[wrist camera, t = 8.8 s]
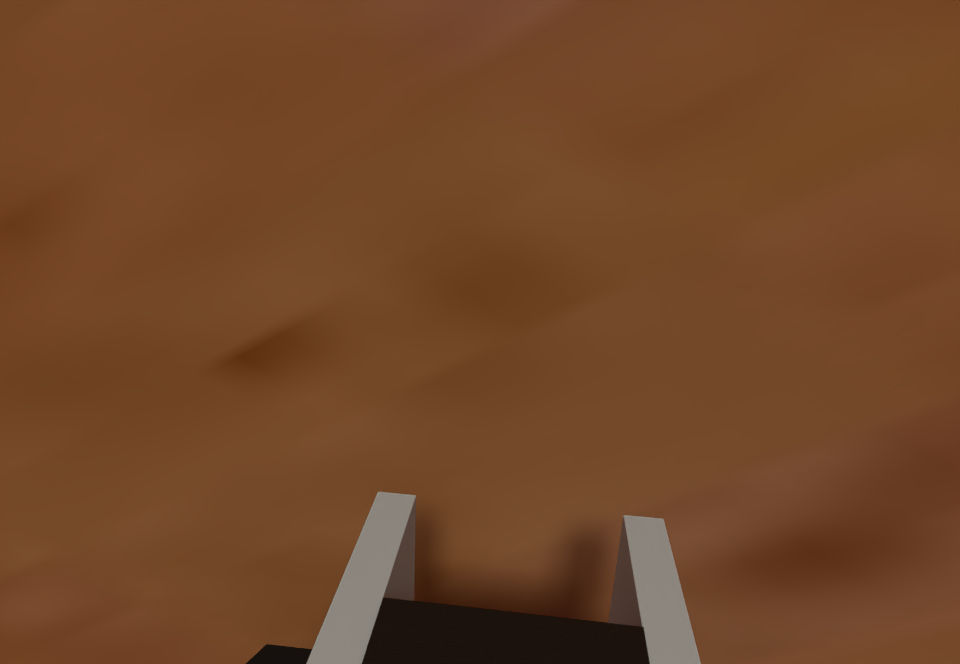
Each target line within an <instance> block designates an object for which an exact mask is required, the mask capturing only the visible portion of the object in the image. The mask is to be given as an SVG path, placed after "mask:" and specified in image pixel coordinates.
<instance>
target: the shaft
mask: <svg viewBox="0 0 960 664" xmlns="http://www.w3.org/2000/svg"><path fill="white" fill-rule="evenodd" d="M362 664H650V662H649V656H648V650H647V645H646V639H645V633H644V627H640V626H631V625H622V624H613V623H605V622H596V621H587V620H578V619H569V618H560V617H552V616H543V615H534V614H525V613H516V612H507V611H499V610H490V609H481V608H472V607H463V606H454V605H446V604H437V603H428V602H419V601H410V600H401V599H393V598H384V597H383V599H382V602H381V605H380V608H379V611H378V615H377V618H376V621H375V624H374V627H373V630H372V633H371V636H370V639H369V643H368V646H367V649H366V652H365V655H364V658H363V661H362Z"/></svg>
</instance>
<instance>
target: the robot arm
mask: <svg viewBox="0 0 960 664" xmlns="http://www.w3.org/2000/svg"><path fill="white" fill-rule="evenodd" d="M415 520H416V495H407V494H396V493H386V492H378V493H377V496H376V498H375V500H374V503H373V505H372V508H371V510H370V512H369V515H368V517H367V520H366V522H365V524H364V527H363V529H362V532H361V534H360V536H359V539H358V541H357V543H356V546H355V548H354V551H353V553H352V555H351V558H350V560H349V563H348V565H347V567H346V570H345V572H344V575H343V577H342V579H341V582H340V584H339V587H338V589H337V591H336V594H335V596H334V599H333V601H332V603H331V606H330V608H329V611H328V613H327V615H326V618H325V620H324V623H323V625H322V627H321V630H320V632H319V635H318V637H317V639H316V642H315V644H314V647H313V649H304V648H295V647H286V646H277V645H268V644H267V645H265V646H264V647H263V648H262V649H261V650H260V651H259V652H258V653H257V654H256V655H255V656H254V657H253V658H251V659H250V660H249V661H248V662H247V663H246V664H362V661H363V658H364V655H365V652H366V649H367V646H368V643H369V639H370V636H371V633H372V630H373V627H374V624H375V621H376V618H377V615H378V611H379V608H380V605H381V602H382V599H383V597H384V598H393V599H401V600H410V601H414V574H415ZM608 623H613V624H622V625H631V626H640V627H644V633H645V639H646V645H647V650H648V656H649V662H650V664H701V663H700V659H699V655H698V651H697V647H696V643H695V639H694V635H693V632H692V628H691V624H690V620H689V616H688V612H687V608H686V605H685V601H684V597H683V593H682V589H681V585H680V581H679V577H678V574H677V570H676V566H675V562H674V558H673V554H672V550H671V546H670V543H669V539H668V535H667V531H666V527H665V523H664V519H660V518H649V517H639V516H628V515H623V522H622V529H621V536H620V544H619V551H618V558H617V565H616V572H615V579H614V586H613V593H612V601H611V608H610V615H609V622H608Z"/></svg>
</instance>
